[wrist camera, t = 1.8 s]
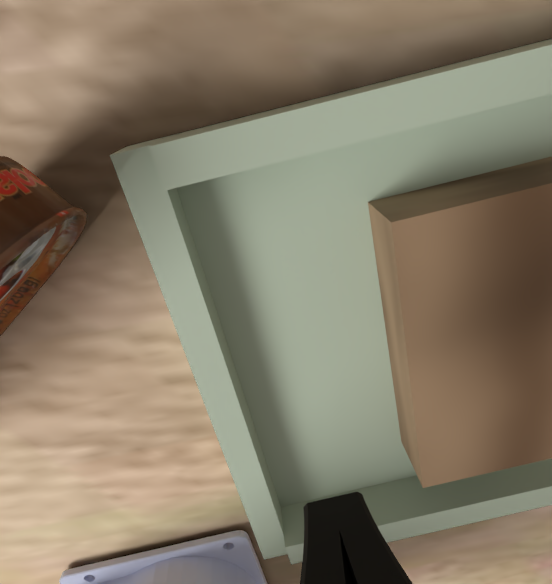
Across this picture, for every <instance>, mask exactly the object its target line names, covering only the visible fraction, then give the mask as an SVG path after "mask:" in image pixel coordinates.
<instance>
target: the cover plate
mask: <svg viewBox="0 0 552 584" xmlns="http://www.w3.org/2000/svg"><path fill="white" fill-rule="evenodd" d="M368 207H369V215H370V222H371V229H372V236H373V243H374V250H375V257H376V265H377V272H378V279H379V286H380V293H381V300H382V307H383V314H384V322H385V329H386V336H387V343H388V350H389V357H390V364H391V372H392V379H393V386H394V393H395V400H396V407H397V414H398V421H399V429H400V436H401V442H402V444H403V446H404V448H405V451H406V453H407V455H408V457H409V459H410V461H411V464H412V466H413V468H414V470H415V472H416V474H417V476H418V479H419V481H420V483H421V485H422V487H423V488H426V487H430V486H434V485H439V484H443V483H447V482H452V481H456V480H460V479H465V478H469V477H473V476H478V475H482V474H486V473H491V472H495V471H499V470H504V469H508V468H512V467H517V466H521V465H525V464H530V463H534V462H538V461H543V460H547V459H551V458H552V157H548V158H544V159H540V160H536V161H531V162H527V163H523V164H519V165H515V166H511V167H507V168H503V169H499V170H495V171H491V172H487V173H483V174H479V175H475V176H471V177H467V178H463V179H459V180H455V181H451V182H447V183H443V184H439V185H434V186H430V187H426V188H422V189H418V190H414V191H410V192H406V193H402V194H398V195H394V196H390V197H386V198H382V199H378V200H374V201H370V202H368Z"/></svg>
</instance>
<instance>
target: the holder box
mask: <svg viewBox="0 0 552 584" xmlns="http://www.w3.org/2000/svg"><path fill="white" fill-rule="evenodd" d="M110 157H111V160H112V163H113V165H114V168H115V171H116V173H117V176H118V178H119V181H120V184H121V186H122V189H123V191H124V194H125V197H126V199H127V202H128V205H129V207H130V210H131V212H132V215H133V218H134V220H135V223H136V226H137V228H138V231H139V233H140V236H141V239H142V241H143V244H144V247H145V249H146V252H147V254H148V257H149V260H150V262H151V265H152V268H153V270H154V273H155V275H156V278H157V281H158V283H159V286H160V289H161V291H162V294H163V296H164V299H165V302H166V304H167V307H168V310H169V312H170V315H171V317H172V320H173V323H174V325H175V328H176V330H177V333H178V336H179V338H180V341H181V344H182V346H183V349H184V351H185V354H186V357H187V359H188V362H189V365H190V367H191V370H192V372H193V375H194V378H195V380H196V383H197V386H198V388H199V391H200V393H201V396H202V399H203V401H204V404H205V407H206V409H207V412H208V414H209V417H210V420H211V422H212V425H213V428H214V430H215V433H216V435H217V438H218V441H219V443H220V446H221V449H222V451H223V454H224V456H225V459H226V462H227V464H228V467H229V469H230V472H231V475H232V477H233V480H234V483H235V485H236V488H237V490H238V493H239V496H240V498H241V501H242V504H243V506H244V509H245V511H246V514H247V517H248V519H249V522H250V525H251V527H252V530H253V532H254V535H255V538H256V540H257V543H258V546H259V548H260V551H261V553H262V556H263V559H269V558H273V557H278V556H282V555H286V554H288V557H289V560H290V563H291V565H292V564H296V563H300V562H302V561H303V548H304V508H303V507H304V506H305V505H306V504H307V503H309V502H313V501H318V500H322V499H327V498H331V497H335V496H340V495H344V494H348V493H353V492H359V493H361V494H362V495H363V497H364V500H365V502H366V505H367V507H368V509H369V511H370V513H371V515H372V517H373V519H374V521H375V523H376V525H377V527H378V529H379V531H380V532H381V534H382V536H383V537H384V539H385V541H386V543H388V542H392V541H397V540H401V539H405V538H410V537H414V536H418V535H423V534H427V533H432V532H436V531H440V530H445V529H449V528H453V527H458V526H462V525H467V524H471V523H475V522H480V521H484V520H488V519H493V518H497V517H502V516H506V515H510V514H515V513H519V512H523V511H528V510H532V509H537V508H541V507H545V506H550V505H552V458H551V459H547V460H543V461H538V462H534V463H530V464H525V465H521V466H517V467H512V468H508V469H504V470H499V471H495V472H491V473H486V474H482V475H478V476H473V477H469V478H465V479H460V480H456V481H452V482H447V483H443V484H439V485H434V486H430V487H426V488H423V487H422V485H421V483H420V481H419V479H418V476H417V474H416V472H415V470H414V468H413V466H412V464H411V461H410V459H409V457H408V455H407V453H406V451H405V448H404V446H403V444H402V442H401V436H400V429H399V421H398V414H397V407H396V400H395V393H394V386H393V379H392V372H391V364H390V357H389V350H388V343H387V336H386V329H385V322H384V314H383V307H382V300H381V293H380V286H379V279H378V272H377V265H376V257H375V250H374V243H373V236H372V229H371V222H370V215H369V207H368V202H370V201H374V200H378V199H382V198H386V197H390V196H394V195H398V194H402V193H406V192H410V191H414V190H418V189H422V188H426V187H430V186H434V185H439V184H443V183H447V182H451V181H455V180H459V179H463V178H467V177H471V176H475V175H479V174H483V173H487V172H491V171H495V170H499V169H503V168H507V167H511V166H515V165H519V164H523V163H527V162H531V161H536V160H540V159H544V158H548V157H552V39H548V40H544V41H541V42H537V43H533V44H529V45H525V46H521V47H517V48H513V49H509V50H505V51H501V52H497V53H493V54H489V55H485V56H481V57H477V58H474V59H470V60H466V61H462V62H458V63H454V64H450V65H446V66H442V67H438V68H434V69H430V70H426V71H422V72H418V73H414V74H410V75H407V76H403V77H399V78H395V79H391V80H387V81H383V82H379V83H375V84H371V85H367V86H363V87H359V88H355V89H351V90H347V91H343V92H340V93H336V94H332V95H328V96H324V97H320V98H316V99H312V100H308V101H304V102H300V103H296V104H292V105H288V106H284V107H280V108H276V109H273V110H269V111H265V112H261V113H257V114H253V115H249V116H245V117H241V118H237V119H233V120H229V121H225V122H221V123H217V124H213V125H209V126H206V127H202V128H198V129H194V130H190V131H186V132H182V133H178V134H174V135H170V136H166V137H162V138H158V139H154V140H150V141H146V142H142V143H139V144H135V145H131V146H127V147H125V148H123V149H121V150H119V151H117V152H115V153H113V154H111V155H110Z"/></svg>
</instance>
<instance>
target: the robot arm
mask: <svg viewBox="0 0 552 584" xmlns="http://www.w3.org/2000/svg"><path fill="white" fill-rule="evenodd" d="M303 508H304V548H303V561H302V572H301V580H300V584H412V582H411V581H410V579H409V578H408V576H407V575H406V573H405V571H404V570H403V568H402V567H401V565H400V564H399V562H398V561H397V559H396V558H395V556H394V554H393V553H392V551H391V549H390V548H389V546H388V544H387V543H386V541H385V539H384V537H383V536H382V534H381V532H380V531H379V529H378V527H377V525H376V523H375V521H374V519H373V517H372V515H371V513H370V511H369V509H368V507H367V505H366V502H365V500H364V497H363V495H362V494H361V493H359V492H353V493H348V494H344V495H340V496H335V497H331V498H327V499H322V500H318V501H313V502H309V503H307V504H306V505H305V506H304V507H303ZM59 582H60V584H267V581H266V579H265V576H264V573H263V571H262V568H261V566H260V563H259V561H258V558H257V556H256V553H255V550H254V548H253V545H252V543H251V540H250V538H249V535H248V534H247V533H246V532H245V531H242V530H236V531H231V532H227V533H223V534H219V535H214V536H210V537H206V538H201V539H197V540H193V541H188V542H184V543H180V544H175V545H171V546H167V547H162V548H158V549H154V550H149V551H145V552H141V553H136V554H132V555H128V556H123V557H119V558H115V559H110V560H106V561H102V562H97V563H93V564H89V565H84V566H80V567H76V568H71V569H68V570H65V571H64V572H63V573H62V575H61V578H60V581H59Z"/></svg>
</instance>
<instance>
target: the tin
mask: <svg viewBox="0 0 552 584" xmlns="http://www.w3.org/2000/svg"><path fill="white" fill-rule="evenodd" d="M86 219H87V214H86V212H85V211H84V210H82V209H81V208H76V207H73V206H72V205H71V204H69V203H68V202H67V201H66V200H65V199H63V198H62V197H61V196H60V195H58V194H57V193H56V192H55V191H54V190H52V189H51V188H50V187H49V186H47V185H46V184H45V183H44V182H43V181H41V180H40V179H39V178H38V177H37V176H35V175H34V174H33V173H32V172H30V171H29V170H27V169H26V168H25V167H23V166H22V165H20V164H19V163H18V162H16V161H14V160H12V159H10V158H8V157H5V156H3V157H2V156H0V336H1V334H2V333H3V332H4V331H5V330H6V329H7V327H8V326H9V325H10V324H11V323H12V321H13V320H14V319H15V318H16V317H17V315H18V314H19V313H20V312H21V311H22V310H23V308H24V307H25V306H26V305H27V304H28V302H29V301H30V300H31V299H32V298H33V296H34V295H35V294H36V293H37V291H38V290H39V289H40V288H41V287H42V285H43V284H44V283H45V282H46V281H47V279H48V278H49V277H50V276H51V275H52V273H53V272H54V271H55V270H56V268H57V267H58V266H59V265H60V263H61V262H62V261H63V259H64V258H65V257H66V255H67V253H68V252H69V251H70V249H71V248H72V247H73V245H74V244H75V242H76V241H77V239H78V238H79V236H80V234H81V233H82V231H83V229H84V227H85V223H86Z"/></svg>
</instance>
